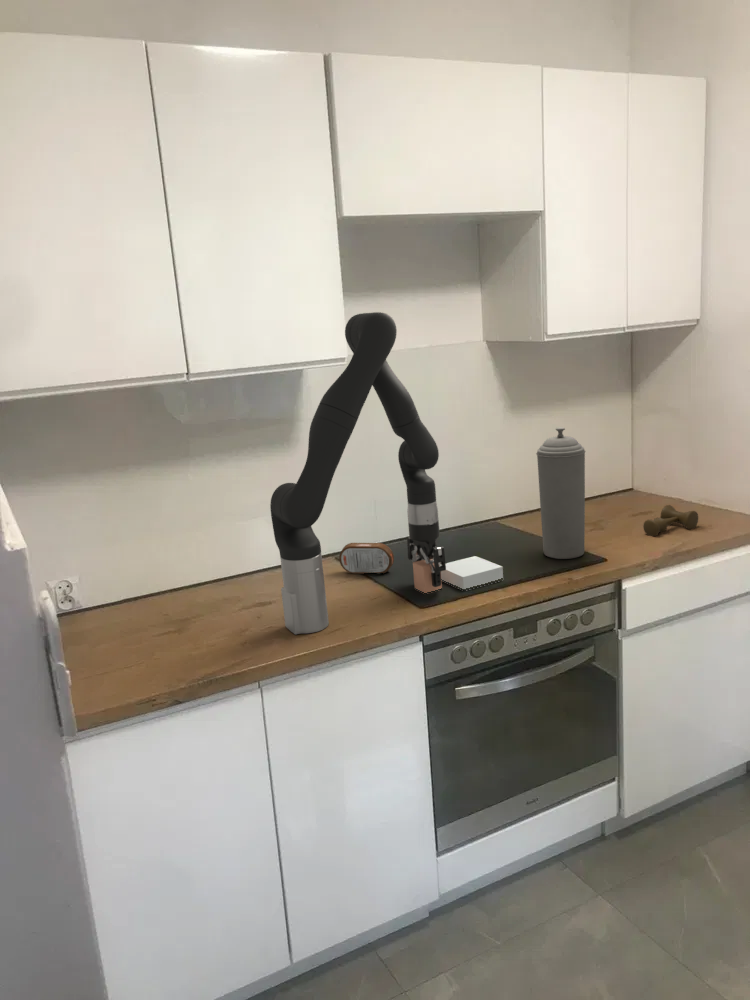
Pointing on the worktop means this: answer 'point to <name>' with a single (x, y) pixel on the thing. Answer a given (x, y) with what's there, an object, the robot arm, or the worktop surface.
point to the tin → (366, 558)
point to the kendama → (670, 520)
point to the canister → (562, 496)
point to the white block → (471, 572)
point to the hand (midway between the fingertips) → (427, 581)
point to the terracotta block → (423, 577)
